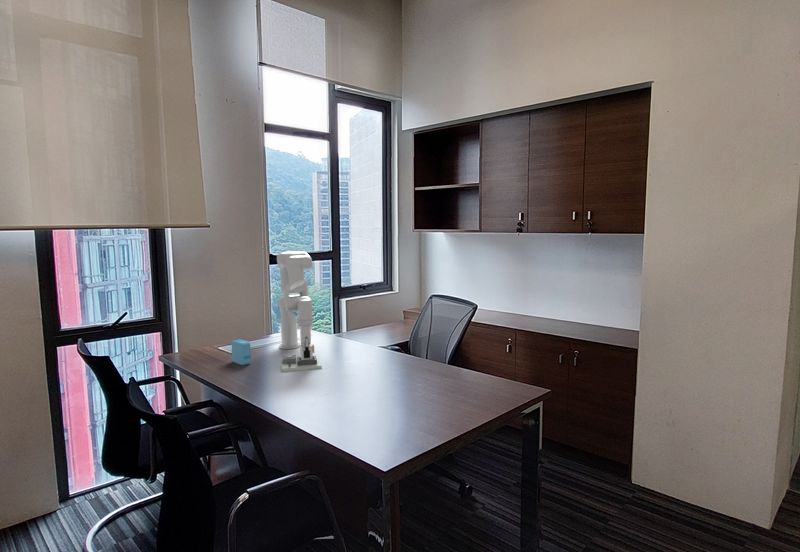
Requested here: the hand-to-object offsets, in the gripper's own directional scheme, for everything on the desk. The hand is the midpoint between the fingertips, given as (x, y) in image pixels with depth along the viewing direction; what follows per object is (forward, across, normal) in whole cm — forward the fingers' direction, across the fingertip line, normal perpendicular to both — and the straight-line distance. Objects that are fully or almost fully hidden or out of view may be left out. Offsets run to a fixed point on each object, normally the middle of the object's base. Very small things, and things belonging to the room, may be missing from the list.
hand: (306, 356), depth 251 cm
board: (+5, -1, -3) cm, 6 cm away
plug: (+2, 0, 0) cm, 2 cm away
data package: (+5, -16, -34) cm, 38 cm away
